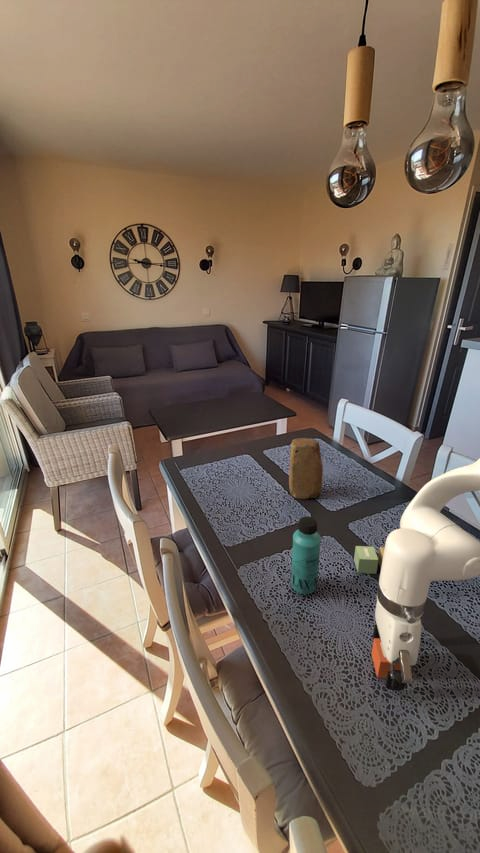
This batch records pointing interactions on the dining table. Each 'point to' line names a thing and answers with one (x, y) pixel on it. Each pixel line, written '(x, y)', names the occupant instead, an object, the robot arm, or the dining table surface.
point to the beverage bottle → (305, 556)
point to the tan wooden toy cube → (380, 556)
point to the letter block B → (366, 559)
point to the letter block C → (381, 659)
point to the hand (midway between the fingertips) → (387, 662)
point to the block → (305, 469)
